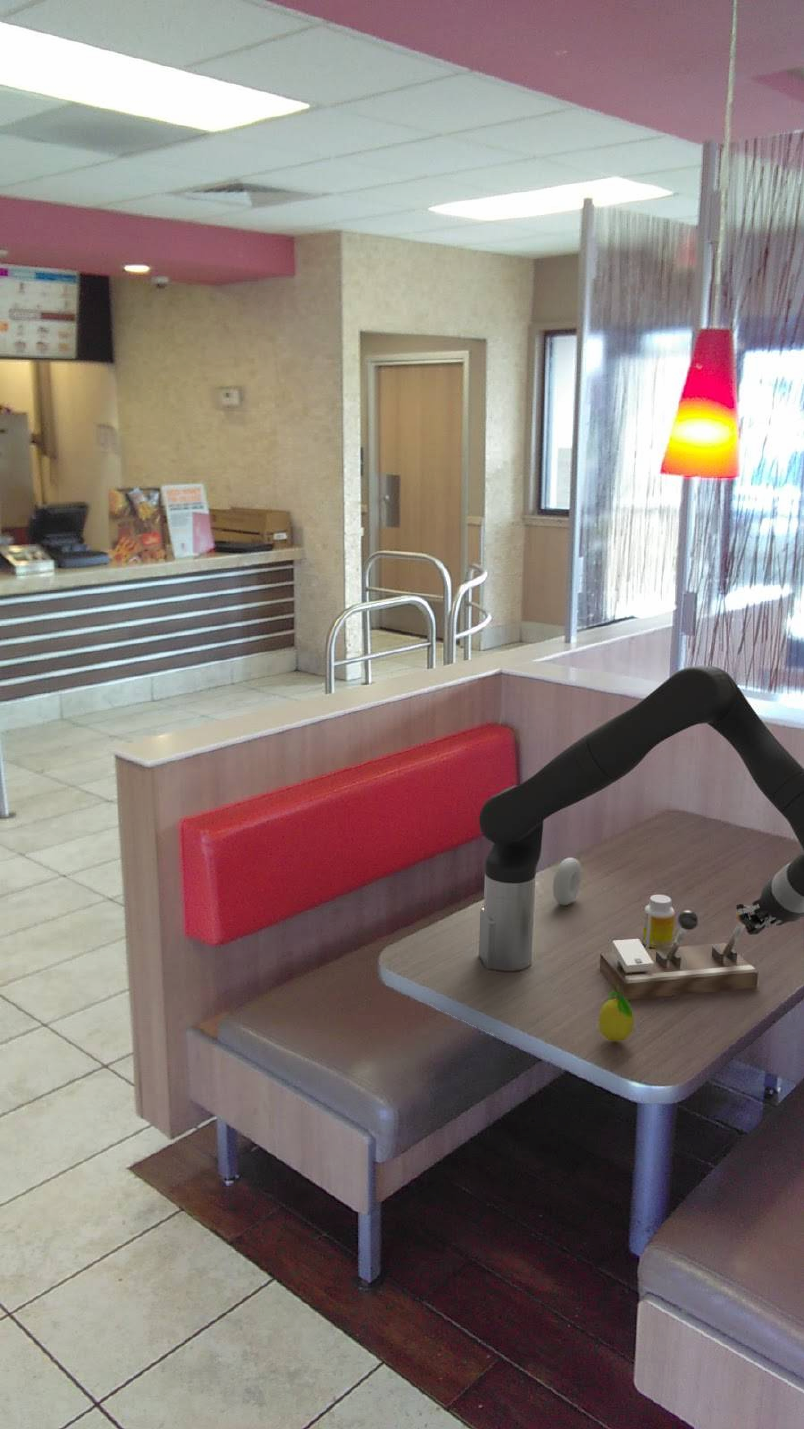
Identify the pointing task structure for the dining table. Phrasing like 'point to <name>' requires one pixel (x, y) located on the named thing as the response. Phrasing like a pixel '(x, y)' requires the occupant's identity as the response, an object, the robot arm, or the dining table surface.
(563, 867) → the donut
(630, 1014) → the lemon
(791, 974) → the dining table surface
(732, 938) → the lever orange
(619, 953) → the block
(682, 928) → the lever black
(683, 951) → the panel
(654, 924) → the supplement bottle
